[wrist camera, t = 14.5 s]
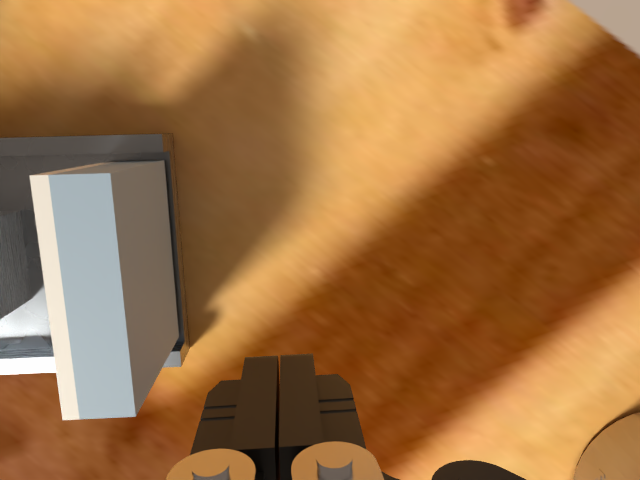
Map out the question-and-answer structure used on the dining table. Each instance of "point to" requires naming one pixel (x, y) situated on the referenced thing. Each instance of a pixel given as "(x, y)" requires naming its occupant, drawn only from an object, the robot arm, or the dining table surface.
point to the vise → (15, 195)
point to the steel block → (12, 264)
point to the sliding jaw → (106, 282)
